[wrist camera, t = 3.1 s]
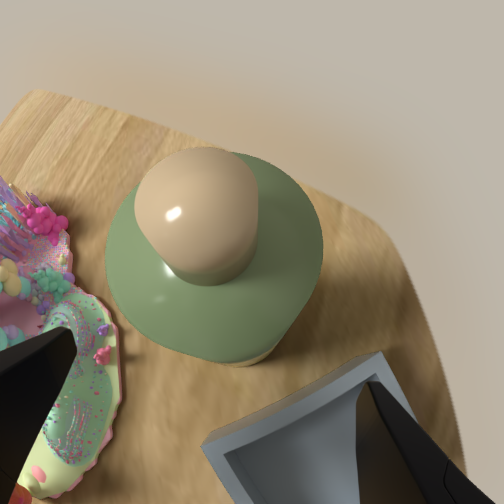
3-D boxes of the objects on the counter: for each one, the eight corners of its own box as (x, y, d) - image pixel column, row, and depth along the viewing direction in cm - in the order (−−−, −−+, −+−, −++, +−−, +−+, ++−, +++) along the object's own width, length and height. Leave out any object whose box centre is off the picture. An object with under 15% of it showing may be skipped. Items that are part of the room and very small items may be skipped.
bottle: (216, 382, 17) (110, 397, 4) (178, 301, 19) (55, 162, 6) (299, 341, 18) (399, 254, 5) (257, 264, 20) (257, 76, 7)
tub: (284, 545, 13) (290, 575, 9) (211, 431, 16) (200, 446, 12) (416, 471, 14) (446, 485, 11) (356, 356, 18) (381, 351, 14)
